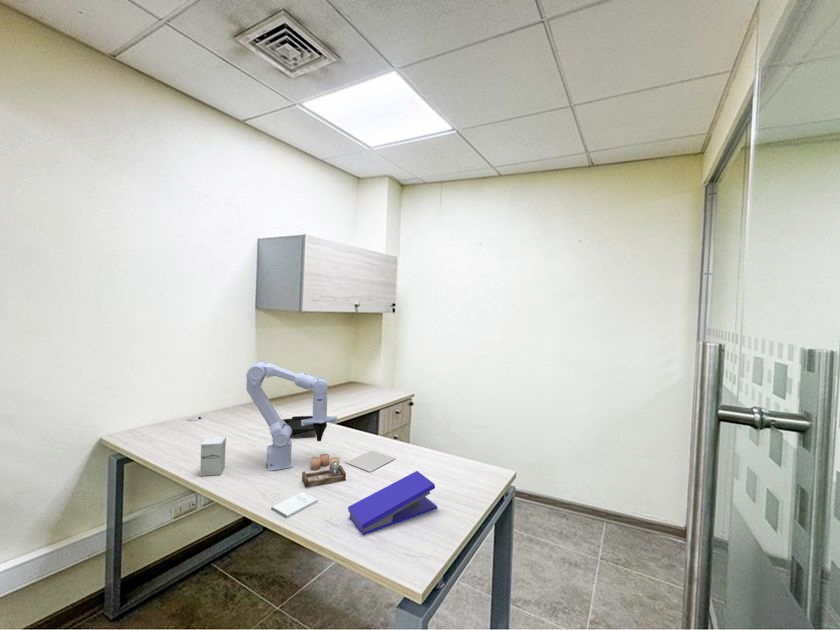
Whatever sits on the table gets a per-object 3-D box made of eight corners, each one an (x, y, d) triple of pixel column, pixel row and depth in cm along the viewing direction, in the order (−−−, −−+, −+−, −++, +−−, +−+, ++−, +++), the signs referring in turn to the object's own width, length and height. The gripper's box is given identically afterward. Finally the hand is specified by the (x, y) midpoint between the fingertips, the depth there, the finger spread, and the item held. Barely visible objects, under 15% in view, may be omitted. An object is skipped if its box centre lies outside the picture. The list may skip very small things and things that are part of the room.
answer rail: (305, 488, 136) (305, 479, 136) (302, 479, 142) (302, 471, 142) (345, 480, 143) (345, 472, 143) (340, 472, 149) (341, 465, 149)
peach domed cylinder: (330, 471, 150) (330, 461, 150) (328, 467, 153) (328, 458, 153) (340, 469, 152) (340, 460, 151) (337, 465, 155) (338, 456, 155)
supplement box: (199, 477, 141) (200, 444, 141) (205, 468, 148) (205, 437, 148) (221, 475, 143) (221, 442, 143) (225, 466, 150) (226, 436, 150)
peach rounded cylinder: (320, 467, 153) (320, 458, 153) (318, 463, 156) (318, 454, 156) (330, 466, 155) (330, 456, 155) (327, 462, 158) (328, 452, 158)
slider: (332, 477, 142) (333, 466, 141) (329, 472, 146) (329, 460, 146) (341, 476, 143) (341, 464, 143) (337, 470, 148) (338, 459, 147)
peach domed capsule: (311, 471, 149) (311, 461, 149) (309, 467, 153) (309, 457, 153) (321, 469, 151) (321, 460, 151) (319, 465, 155) (319, 456, 155)
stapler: (438, 510, 125) (439, 482, 125) (362, 538, 109) (363, 505, 109) (418, 495, 135) (419, 468, 134) (346, 518, 119) (347, 488, 118)
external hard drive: (271, 511, 122) (302, 495, 132) (286, 520, 117) (317, 503, 127) (271, 506, 122) (302, 491, 132) (287, 515, 117) (318, 498, 127)
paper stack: (413, 465, 159) (413, 464, 159) (374, 489, 138) (374, 487, 138) (371, 451, 172) (371, 450, 172) (330, 470, 151) (330, 469, 151)
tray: (261, 430, 193) (261, 420, 193) (298, 419, 212) (298, 410, 212) (299, 444, 177) (299, 433, 176) (335, 431, 196) (335, 421, 196)
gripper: (303, 412, 149) (302, 446, 149) (339, 409, 155) (338, 441, 156) (300, 408, 155) (299, 440, 155) (335, 404, 162) (334, 435, 162)
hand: (318, 440), depth 156 cm, fingers closed
